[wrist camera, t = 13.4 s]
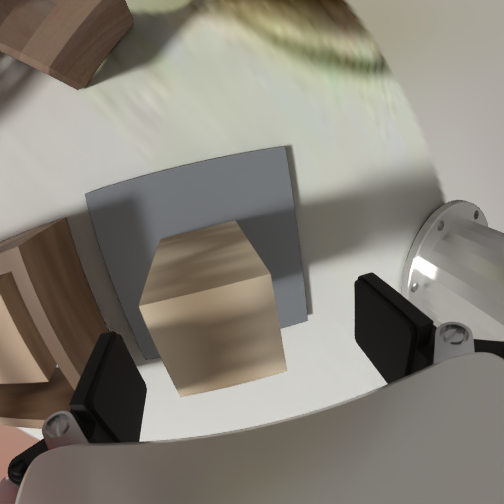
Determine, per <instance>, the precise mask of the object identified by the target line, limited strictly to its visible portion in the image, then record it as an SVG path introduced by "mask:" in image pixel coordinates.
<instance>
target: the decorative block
mask: <svg viewBox="0 0 504 504" xmlns="http://www.w3.org/2000/svg"><path fill="white" fill-rule="evenodd" d="M132 25H133V18H132V16H131V13H130V11H129V8H128V6H127V4H126V1H125V0H0V51H1V52H3V53H5V54H7V55H10V56H12V57H14V58H16V59H18V60H20V61H22V62H24V63H26V64H28V65H30V66H32V67H34V68H36V69H38V70H40V71H42V72H44V73H46V74H48V75H50V76H52V77H53V78H55V79H57V80H59V81H61V82H63V83H65V84H67V85H69V86H71V87H73V88H75V89H77V90H79V89H81V88H84V87H85V86H86V85H87V83H88V82H89V80H90V79H91V77H92V76H93V75H94V73H95V72H96V70H97V69H98V68H99V66H100V65H101V64H102V62H103V61H104V60H105V58H106V57H107V56H108V54H109V53H110V52H111V50H112V49H113V48H114V47H115V45H116V44H117V43H118V42H119V41H120V39H121V38H122V37H123V36H124V35H125V33H126V32H127V31H128V30H129V29H130V28H131V27H132Z"/></svg>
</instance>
